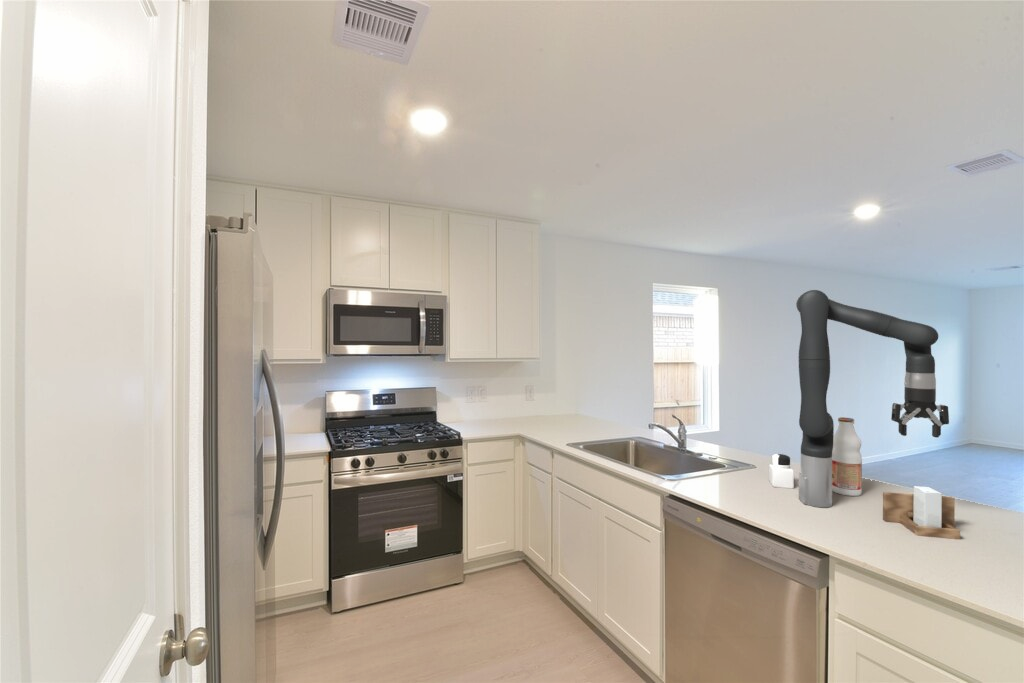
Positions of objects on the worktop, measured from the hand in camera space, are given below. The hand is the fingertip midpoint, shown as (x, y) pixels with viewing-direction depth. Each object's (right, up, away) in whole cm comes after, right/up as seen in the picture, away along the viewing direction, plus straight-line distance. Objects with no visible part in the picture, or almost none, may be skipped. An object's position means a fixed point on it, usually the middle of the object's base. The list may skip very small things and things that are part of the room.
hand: (919, 436), depth 145 cm
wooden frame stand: (-6, -27, -9) cm, 29 cm away
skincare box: (-6, -27, -9) cm, 29 cm away
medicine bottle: (-26, -27, +32) cm, 49 cm away
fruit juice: (-6, -26, +24) cm, 36 cm away
